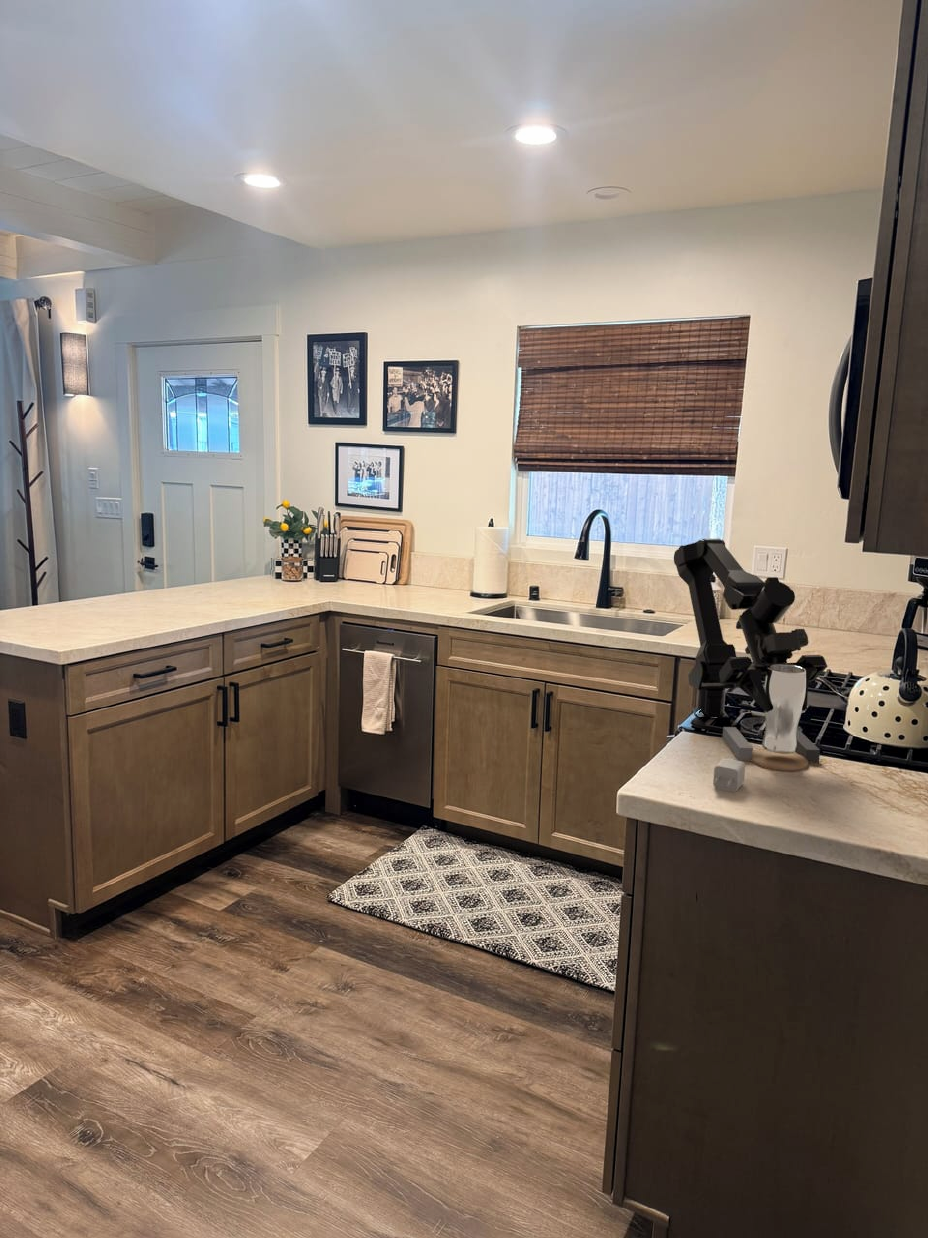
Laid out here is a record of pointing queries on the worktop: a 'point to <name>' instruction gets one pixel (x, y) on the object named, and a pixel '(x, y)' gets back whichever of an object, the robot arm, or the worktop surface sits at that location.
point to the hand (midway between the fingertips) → (786, 710)
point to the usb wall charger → (729, 774)
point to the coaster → (779, 760)
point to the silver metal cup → (783, 706)
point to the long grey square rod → (807, 748)
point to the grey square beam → (737, 743)
